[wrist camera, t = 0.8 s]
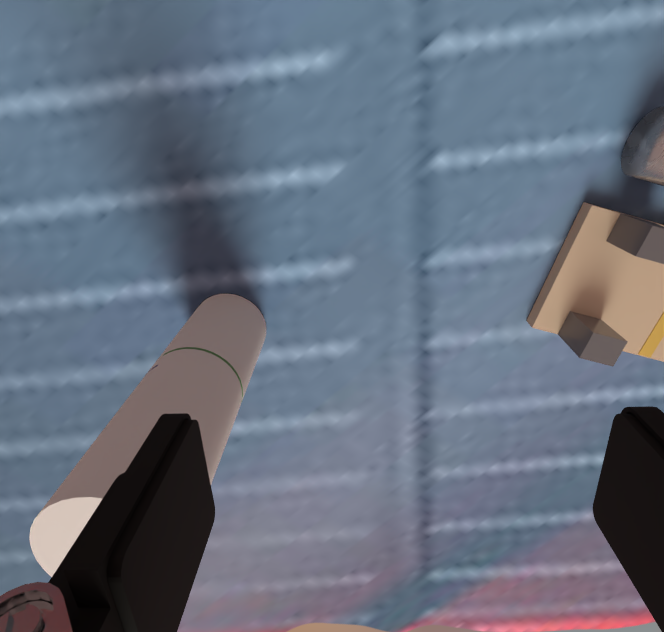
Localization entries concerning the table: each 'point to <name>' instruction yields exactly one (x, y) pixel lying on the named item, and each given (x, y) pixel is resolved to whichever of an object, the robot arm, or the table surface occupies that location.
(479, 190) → the table surface
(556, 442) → the table surface
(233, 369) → the cylindrical container
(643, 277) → the plate
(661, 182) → the tube
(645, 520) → the robot arm
